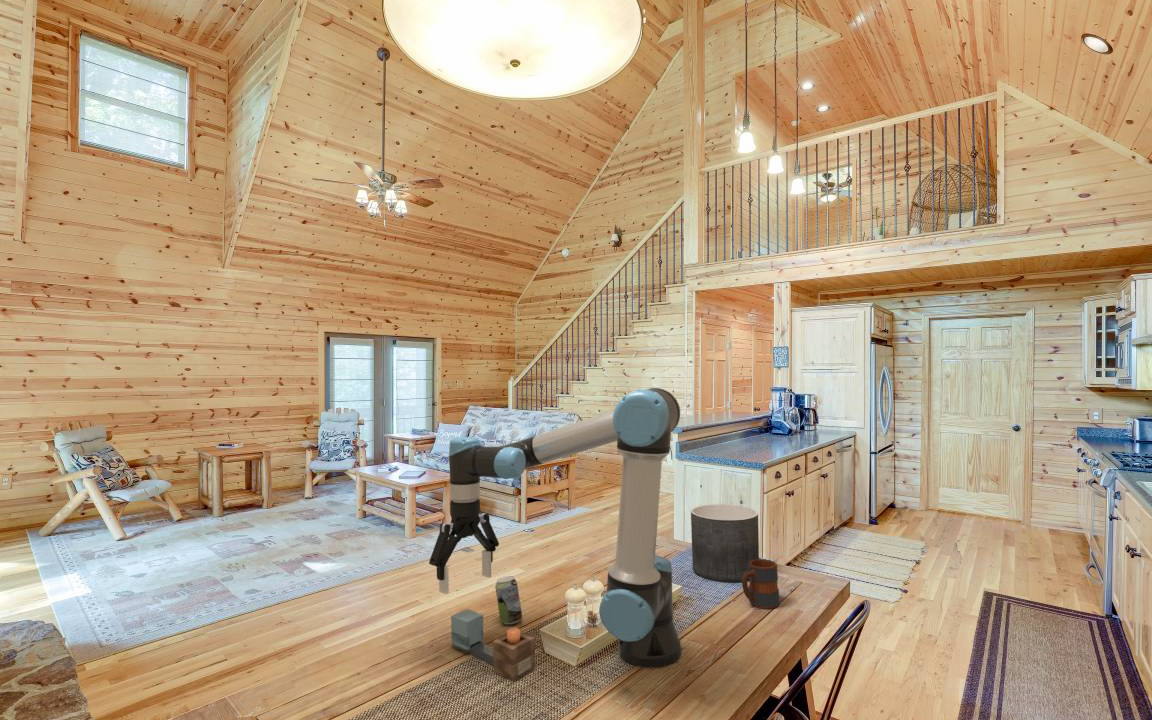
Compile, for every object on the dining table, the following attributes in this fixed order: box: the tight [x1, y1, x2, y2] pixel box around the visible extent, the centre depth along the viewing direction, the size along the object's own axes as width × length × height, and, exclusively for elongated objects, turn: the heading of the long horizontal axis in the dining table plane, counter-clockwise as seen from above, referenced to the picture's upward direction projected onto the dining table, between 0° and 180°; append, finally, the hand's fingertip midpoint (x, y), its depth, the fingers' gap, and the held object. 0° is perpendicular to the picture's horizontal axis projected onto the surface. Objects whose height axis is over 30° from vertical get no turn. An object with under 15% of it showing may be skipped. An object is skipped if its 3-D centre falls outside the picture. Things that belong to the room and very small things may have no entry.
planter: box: [690, 503, 760, 583], centre depth 195 cm, size 22×22×20 cm
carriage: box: [450, 608, 485, 650], centre depth 144 cm, size 6×5×7 cm
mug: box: [741, 558, 780, 610], centre depth 166 cm, size 9×12×12 cm
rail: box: [450, 631, 493, 666], centre depth 141 cm, size 18×3×4 cm, turn 50°
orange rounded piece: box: [506, 627, 521, 646], centre depth 133 cm, size 3×3×4 cm
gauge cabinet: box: [492, 632, 536, 682], centre depth 133 cm, size 7×7×7 cm
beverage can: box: [494, 575, 523, 625], centre depth 159 cm, size 6×7×12 cm
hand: (466, 584), depth 144 cm, fingers open, 13 cm apart
